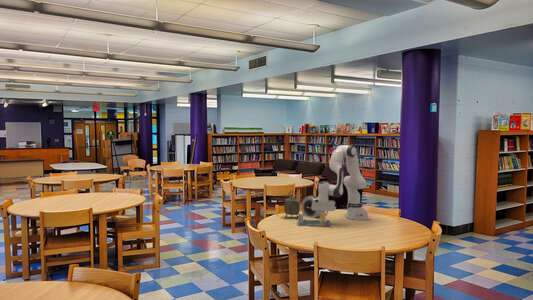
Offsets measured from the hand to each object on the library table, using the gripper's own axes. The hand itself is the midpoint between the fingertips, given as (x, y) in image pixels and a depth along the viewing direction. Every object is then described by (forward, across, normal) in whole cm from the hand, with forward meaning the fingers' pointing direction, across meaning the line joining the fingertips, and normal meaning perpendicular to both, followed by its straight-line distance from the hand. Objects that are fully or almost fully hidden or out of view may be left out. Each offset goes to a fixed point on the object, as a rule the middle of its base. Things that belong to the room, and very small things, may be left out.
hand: (322, 215), depth 337 cm
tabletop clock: (+8, +27, -20) cm, 34 cm away
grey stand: (+6, +6, +2) cm, 9 cm away
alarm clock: (+8, +8, -30) cm, 32 cm away
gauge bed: (+8, +7, 0) cm, 10 cm away
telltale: (+6, +1, +6) cm, 9 cm away
